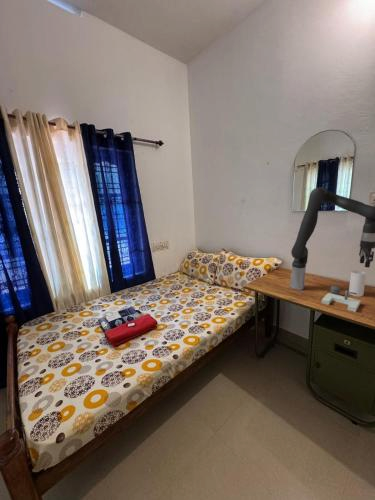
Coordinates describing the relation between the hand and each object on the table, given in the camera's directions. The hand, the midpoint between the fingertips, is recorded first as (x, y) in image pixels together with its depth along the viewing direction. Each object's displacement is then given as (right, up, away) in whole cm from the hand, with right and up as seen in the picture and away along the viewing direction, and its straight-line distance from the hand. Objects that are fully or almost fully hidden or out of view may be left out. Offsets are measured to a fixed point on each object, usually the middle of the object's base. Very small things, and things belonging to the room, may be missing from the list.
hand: (364, 265), depth 136 cm
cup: (+8, -22, +17) cm, 28 cm away
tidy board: (-12, -25, +4) cm, 28 cm away
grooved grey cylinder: (-7, -22, +17) cm, 29 cm away
